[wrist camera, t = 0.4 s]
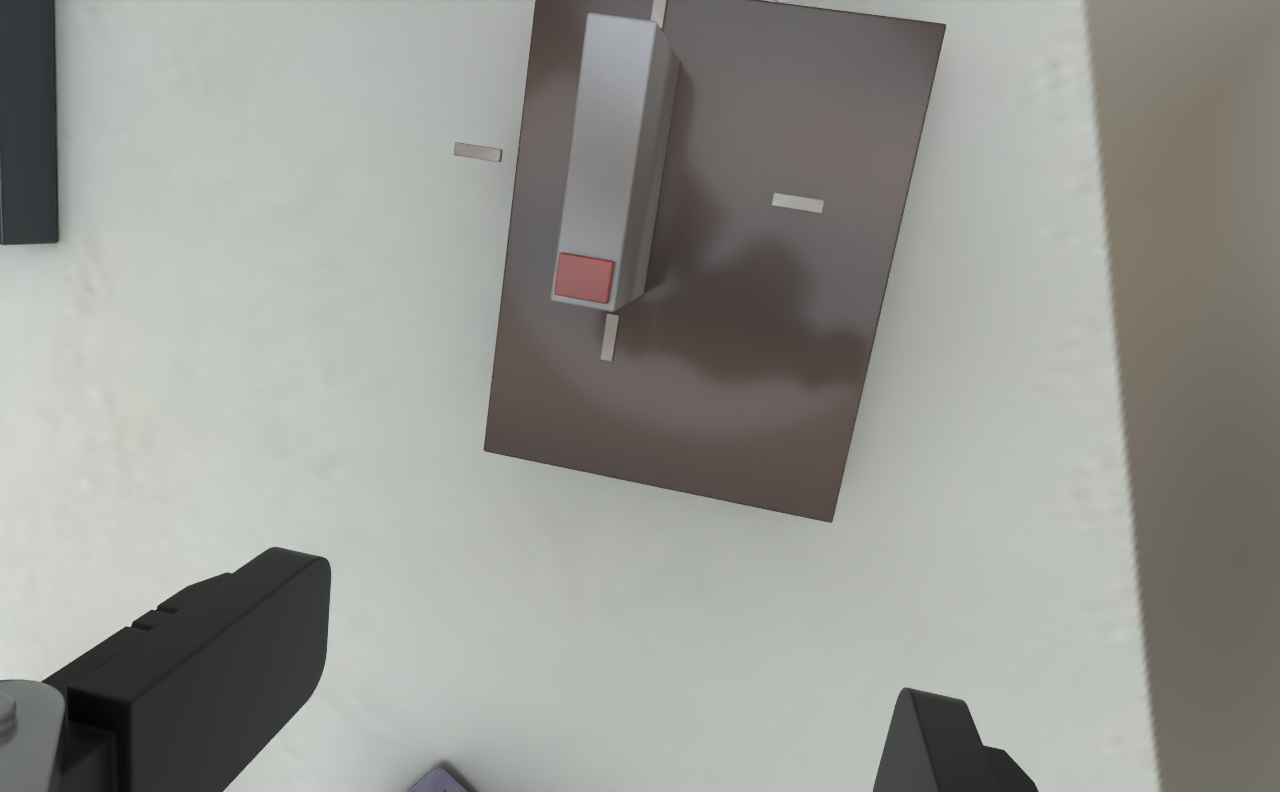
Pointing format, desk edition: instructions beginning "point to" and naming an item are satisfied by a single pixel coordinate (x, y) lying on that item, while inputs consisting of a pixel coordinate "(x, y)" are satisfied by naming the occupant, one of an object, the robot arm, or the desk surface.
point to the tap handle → (614, 162)
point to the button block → (27, 123)
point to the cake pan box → (438, 783)
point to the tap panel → (718, 253)
